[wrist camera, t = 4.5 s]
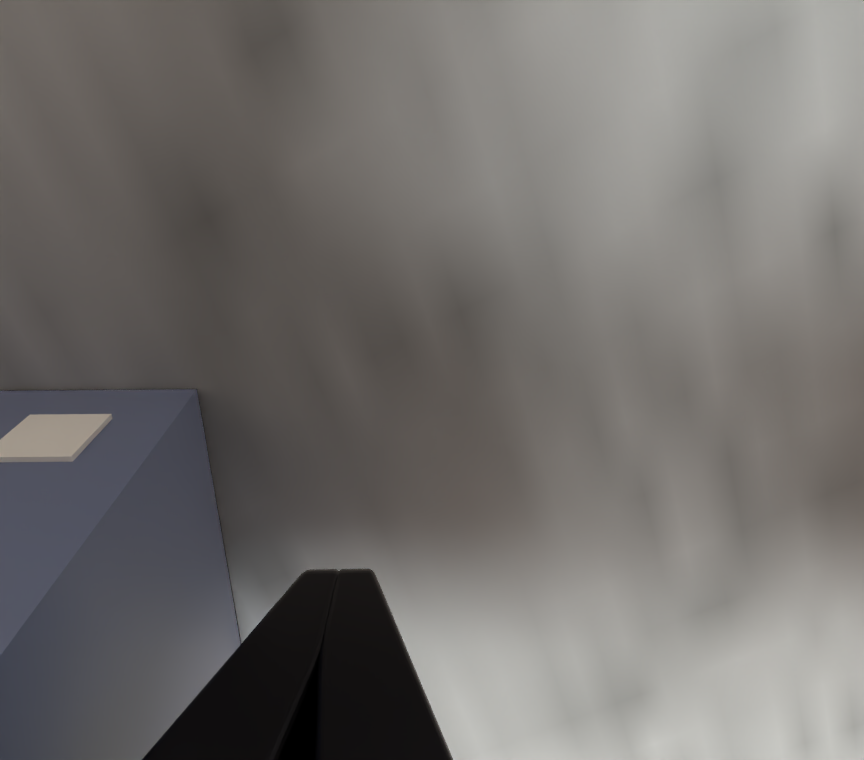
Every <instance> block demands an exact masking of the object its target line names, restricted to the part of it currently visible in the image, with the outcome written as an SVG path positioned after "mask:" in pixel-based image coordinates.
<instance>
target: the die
mask: <svg viewBox="0 0 864 760" xmlns="http://www.w3.org/2000/svg"><path fill="white" fill-rule="evenodd" d="M240 645H241V643H240V637H239V631H238V626H237V620H236V614H235V608H234V602H233V597H232V591H231V585H230V579H229V573H228V567H227V562H226V556H225V550H224V544H223V538H222V533H221V527H220V521H219V515H218V509H217V503H216V498H215V492H214V486H213V480H212V474H211V469H210V463H209V457H208V451H207V445H206V439H205V434H204V428H203V422H202V416H201V410H200V405H199V399H198V393H197V389H156V390H35V391H0V760H142V759H143V758H144V756H145V755H146V754H147V753H148V752H149V751H150V750H151V748H152V747H153V746H154V745H155V744H156V743H157V741H158V740H159V739H160V738H161V737H162V736H163V734H164V733H165V732H166V731H167V730H168V729H169V727H170V726H171V725H172V724H173V723H174V722H175V720H176V719H177V718H178V717H179V716H180V715H181V713H182V712H183V711H184V710H185V709H186V708H187V706H188V705H189V704H190V703H191V702H192V701H193V699H194V698H195V697H196V696H197V695H198V694H199V693H200V691H201V690H202V689H203V688H204V687H205V686H206V684H207V683H208V682H209V681H210V680H211V679H212V677H213V676H214V675H215V674H216V673H217V672H218V670H219V669H220V668H221V667H222V666H223V665H224V663H225V662H226V661H227V660H228V659H229V658H230V656H231V655H232V654H233V653H234V652H235V651H236V649H237V648H238V647H239V646H240Z"/></svg>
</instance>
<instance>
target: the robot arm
mask: <svg viewBox="0 0 864 760" xmlns="http://www.w3.org/2000/svg"><path fill="white" fill-rule="evenodd" d="M142 760H453V758H452V756H451V754H450V751H449V749H448V746H447V744H446V742H445V739H444V737H443V735H442V732H441V730H440V727H439V725H438V723H437V720H436V718H435V715H434V713H433V711H432V708H431V706H430V704H429V701H428V699H427V696H426V694H425V692H424V689H423V687H422V685H421V682H420V680H419V677H418V675H417V673H416V670H415V668H414V666H413V663H412V661H411V658H410V656H409V654H408V651H407V649H406V646H405V644H404V642H403V639H402V637H401V635H400V632H399V630H398V627H397V625H396V623H395V620H394V618H393V616H392V613H391V611H390V608H389V606H388V604H387V601H386V599H385V597H384V594H383V592H382V589H381V587H380V585H379V582H378V580H377V578H376V575H375V573H374V572H373V571H372V570H371V569H341V570H340V571H338V570H336V569H319V570H306V571H305V572H303V573H302V574H301V575H300V576H299V577H298V578H297V580H296V581H295V582H294V583H293V584H292V585H291V587H290V588H289V589H288V590H287V591H286V592H285V594H284V595H283V596H282V597H281V598H280V599H279V601H278V602H277V603H276V604H275V605H274V606H273V608H272V609H271V610H270V611H269V612H268V613H267V615H266V616H265V617H264V618H263V619H262V620H261V622H260V623H259V624H258V625H257V626H256V627H255V629H254V630H253V631H252V632H251V633H250V634H249V635H248V637H247V638H246V639H245V640H244V641H243V642H242V644H241V645H240V646H239V647H238V648H237V649H236V651H235V652H234V653H233V654H232V655H231V656H230V658H229V659H228V660H227V661H226V662H225V663H224V665H223V666H222V667H221V668H220V669H219V670H218V672H217V673H216V674H215V675H214V676H213V677H212V679H211V680H210V681H209V682H208V683H207V684H206V686H205V687H204V688H203V689H202V690H201V691H200V693H199V694H198V695H197V696H196V697H195V698H194V699H193V701H192V702H191V703H190V704H189V705H188V706H187V708H186V709H185V710H184V711H183V712H182V713H181V715H180V716H179V717H178V718H177V719H176V720H175V722H174V723H173V724H172V725H171V726H170V727H169V729H168V730H167V731H166V732H165V733H164V734H163V736H162V737H161V738H160V739H159V740H158V741H157V743H156V744H155V745H154V746H153V747H152V748H151V750H150V751H149V752H148V753H147V754H146V755H145V756H144V758H143V759H142Z"/></svg>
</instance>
